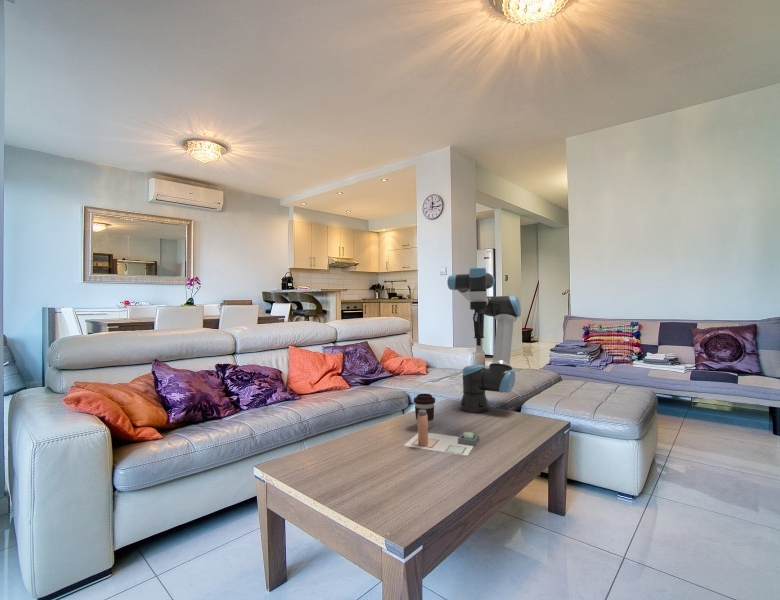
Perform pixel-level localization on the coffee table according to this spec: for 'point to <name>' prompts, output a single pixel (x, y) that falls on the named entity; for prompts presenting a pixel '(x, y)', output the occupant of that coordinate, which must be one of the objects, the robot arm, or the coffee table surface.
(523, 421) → the coffee table surface
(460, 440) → the button housing
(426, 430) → the marker
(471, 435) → the button
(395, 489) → the coffee table surface
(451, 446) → the sheet
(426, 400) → the coffee cup
